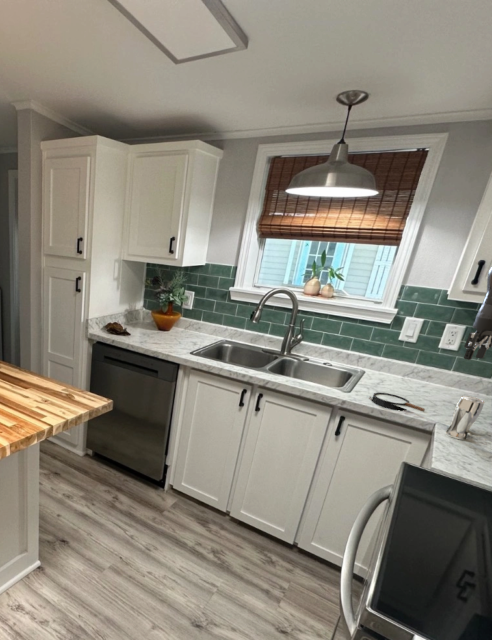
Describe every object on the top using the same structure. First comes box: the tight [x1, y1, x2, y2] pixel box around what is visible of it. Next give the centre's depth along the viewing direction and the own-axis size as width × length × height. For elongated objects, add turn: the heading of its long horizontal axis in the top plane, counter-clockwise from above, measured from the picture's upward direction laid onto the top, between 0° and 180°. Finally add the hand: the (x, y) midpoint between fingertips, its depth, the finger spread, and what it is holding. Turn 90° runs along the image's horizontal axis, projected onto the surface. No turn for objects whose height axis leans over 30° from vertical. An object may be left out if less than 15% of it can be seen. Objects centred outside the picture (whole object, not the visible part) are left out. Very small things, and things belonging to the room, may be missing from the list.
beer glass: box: [445, 395, 486, 441], centre depth 149 cm, size 7×7×15 cm
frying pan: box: [371, 392, 426, 412], centre depth 174 cm, size 20×13×4 cm, turn 24°
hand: (473, 358), depth 158 cm, fingers open, 8 cm apart
